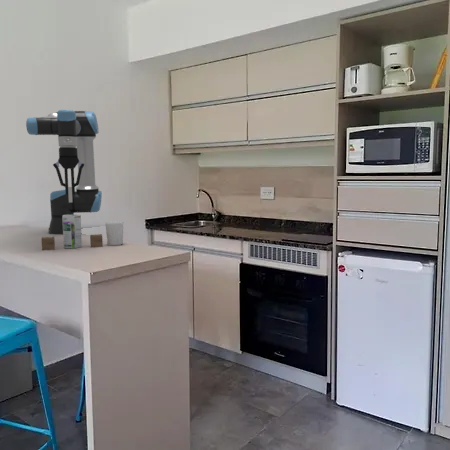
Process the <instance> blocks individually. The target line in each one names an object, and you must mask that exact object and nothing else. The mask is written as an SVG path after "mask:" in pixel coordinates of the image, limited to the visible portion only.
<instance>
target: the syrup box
mask: <svg viewBox="0 0 450 450" xmlns="http://www.w3.org/2000/svg"><path fill="white" fill-rule="evenodd" d="M81 216H82V215H81V214H74V215H73V214H66V215H62V221H63V234H62V235H63V236H62V237H63V238H62V239H63V249H72V250H73V249H77V248H81V247H82V246H83V240H82V239H83V238H82V218H81Z"/></svg>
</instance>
